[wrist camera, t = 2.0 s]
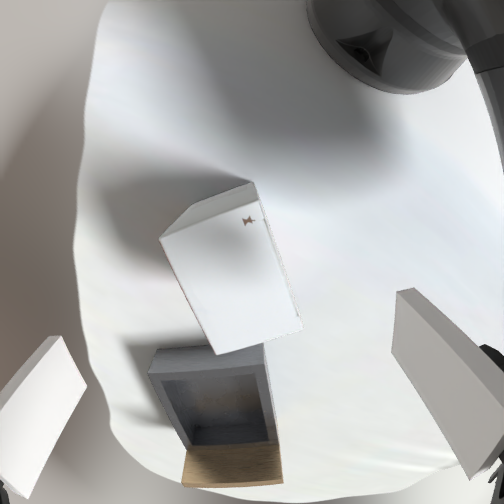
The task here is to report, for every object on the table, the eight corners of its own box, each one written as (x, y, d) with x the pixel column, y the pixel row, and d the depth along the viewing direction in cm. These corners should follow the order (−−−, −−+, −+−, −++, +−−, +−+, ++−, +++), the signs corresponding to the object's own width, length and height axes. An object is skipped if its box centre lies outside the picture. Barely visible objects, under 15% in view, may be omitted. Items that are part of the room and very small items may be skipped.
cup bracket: (262, 338, 28) (267, 404, 20) (277, 425, 33) (283, 483, 24) (157, 349, 29) (132, 410, 20) (193, 432, 33) (184, 487, 25)
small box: (191, 203, 24) (153, 235, 14) (254, 179, 24) (259, 195, 14) (225, 286, 27) (214, 359, 17) (284, 267, 26) (306, 332, 16)
